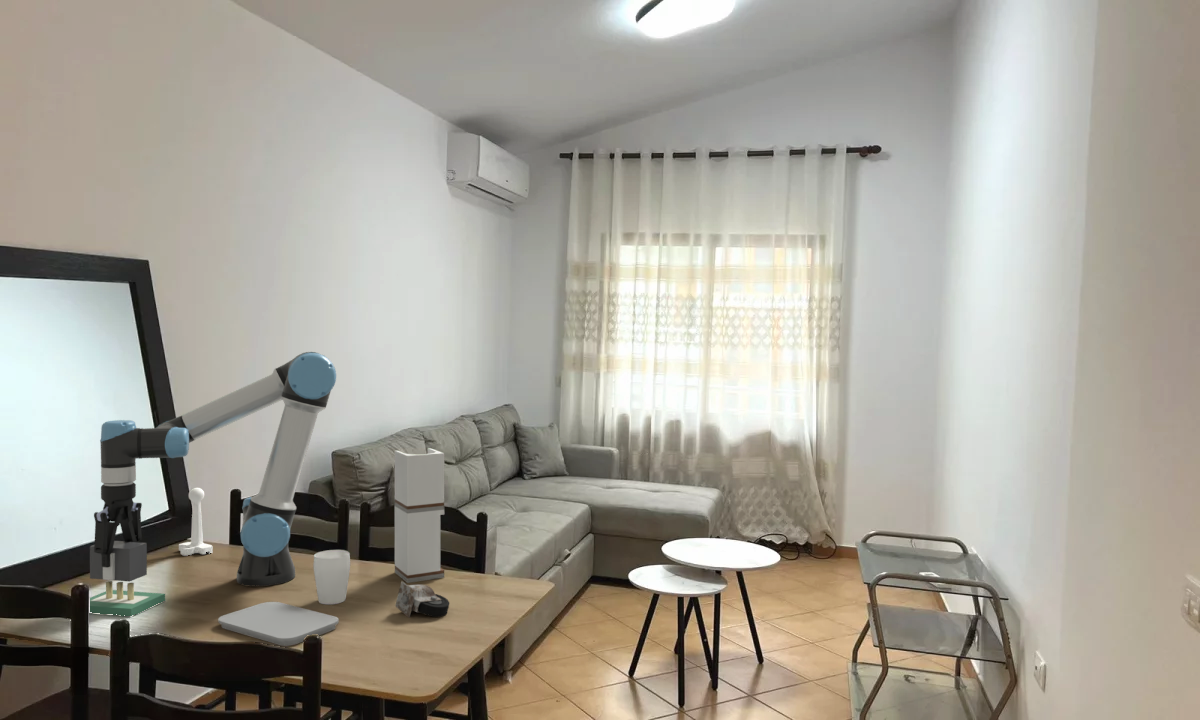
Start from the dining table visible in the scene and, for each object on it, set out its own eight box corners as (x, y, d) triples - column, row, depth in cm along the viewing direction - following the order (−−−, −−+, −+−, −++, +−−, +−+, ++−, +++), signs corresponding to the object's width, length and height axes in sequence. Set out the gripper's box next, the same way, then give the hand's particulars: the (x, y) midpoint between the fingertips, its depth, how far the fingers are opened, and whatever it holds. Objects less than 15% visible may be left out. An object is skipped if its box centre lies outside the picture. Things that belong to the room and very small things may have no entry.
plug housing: (146, 574, 215) (146, 543, 215) (129, 581, 209) (129, 549, 209) (108, 571, 217) (107, 540, 217) (89, 578, 211) (89, 546, 211)
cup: (339, 592, 226) (339, 547, 225) (357, 600, 219) (356, 554, 219) (307, 600, 219) (307, 554, 219) (323, 608, 213) (323, 561, 213)
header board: (165, 601, 218) (164, 577, 218) (131, 617, 206) (131, 591, 206) (109, 597, 221) (109, 574, 220) (73, 612, 209) (72, 587, 209)
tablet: (287, 650, 187) (287, 640, 186) (212, 628, 200) (212, 618, 200) (344, 628, 200) (344, 618, 200) (271, 609, 214) (271, 600, 214)
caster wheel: (451, 623, 211) (417, 627, 204) (426, 603, 219) (393, 606, 211) (458, 597, 210) (424, 600, 203) (433, 578, 218) (399, 580, 211)
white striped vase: (444, 577, 240) (444, 453, 239) (407, 582, 235) (407, 455, 234) (430, 567, 250) (430, 448, 249) (394, 572, 245) (394, 450, 244)
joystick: (215, 552, 265) (215, 488, 264) (195, 558, 258) (194, 492, 258) (190, 548, 270) (190, 485, 269) (169, 553, 263) (168, 489, 262)
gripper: (132, 476, 222) (132, 564, 223) (75, 489, 203) (75, 585, 204) (158, 477, 221) (158, 566, 222) (103, 490, 202) (103, 587, 203)
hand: (118, 575), depth 213 cm, fingers closed on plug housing, 6 cm apart
